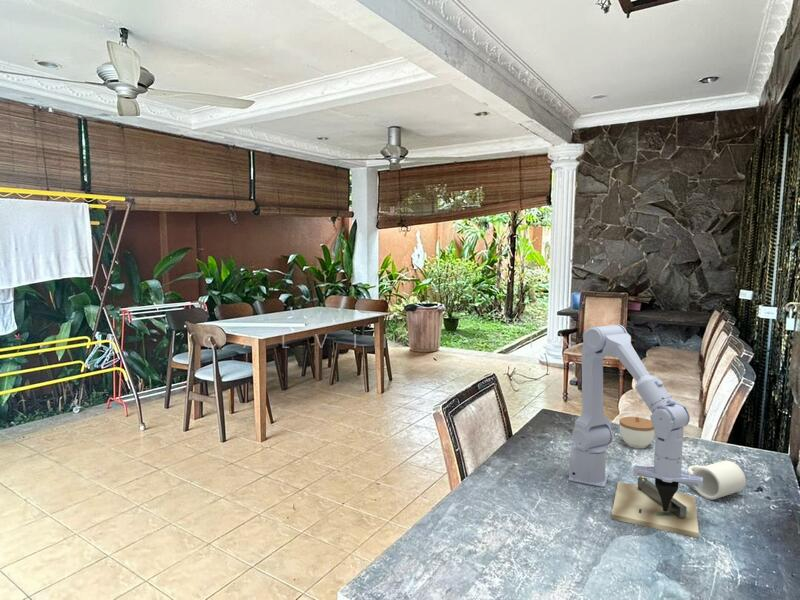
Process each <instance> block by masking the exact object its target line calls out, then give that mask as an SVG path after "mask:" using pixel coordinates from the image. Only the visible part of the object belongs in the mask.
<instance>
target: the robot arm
mask: <svg viewBox="0 0 800 600" xmlns="http://www.w3.org/2000/svg"><path fill="white" fill-rule="evenodd" d="M582 340H583V341H582V348H581V395H582V396H581V399H582V400H581V402H582V403H581V404H582V407H581V409H582V413H581V414H580V415H579V416H578V417H577V418H576V420H574V428H573V431H572V433H571V434H572V441H573V443H574V444H572V445H570V451H569V467H568V481H570V482H575V483H580V484H586V485H591V486H596V487H600V488H601V487H602V488H605V487H606V485H607V480H608V476H609V475H608V474H607V473H606V460H607V449H608V450H609V445H611V444H612V443H613V439H614V434H613V431H612V427H611V420H610V419H609V418H608V417H607V416H605V415H604V413H605V412H604V358H605V357H606V356H608V355H609V356H613V357H616V358H617V359H618V360H619V361H620V363H621V364H622V365H623V366H624V367H625V369H626V370H627V371H628V372H629V374H630V375H631V376H632V378H633V379H634V381H636V386H635V390H636V392H637V393H638V395H639V396H640V397H641V399H642V400H643V402H644V403H645V404H646V406H647V408H648V409H649V411H650V413H651V414H650V415H649V416H650V418H649V419H650V420H651V422H652V424H653V426H654V433H655V434H654V438H655V439H654V459H653V466H644V465H643V466H642V465H633V467H632V468H633V471H632V476H633V477H640V476H643V477H645V478H650V479H654V485H655V486H656V488H657V490H658V492H659V495H660V497H661V501H662V505H663V511H665V512H667V511H668V506H669V504H670V501H671V499H672V497H673V496H674V494H675V493H678V490H679V484H682V485H687V486H693V487H694V486H697V487H698V488H703V478H702V477H699V476H695V475H691V474H688V473H687V472H684V471H682V463H683V462H682V460H683V459H682V458H683V448H684V447H683V445H684V444H683V443H684V428H685V427H687V426H688V424H689V423H690V420H691V419H690V417H691V416H690V413H689V410H688V409H687V407H686V406H685V405H684V404H683V403H681V402H678V401H677V400H676V399H674V398H673V396H671V394H670V393H669V392H668V390H667V389H666V387H665V386H664V382H663V381H662V380H661V379H659V377H658V376H654V375H651V374H650V373H649V371H648V370H647V368H646V367H645V365H644V363H643V362H642V360H641V358H640V357H639V355H638V353H637V351H636V350H635V349H634V347H633V345H632V336H631V334H630V333H628V331H627V329H626V328H625V327H624V326H623V325H621V324H618V323H615V324H612V325H602V326H590V327H589V328H587V330H585V331H584V332H583V333H582Z"/></svg>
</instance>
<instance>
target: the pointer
mask: <svg viewBox="0 0 800 600" xmlns="http://www.w3.org/2000/svg"><path fill="white" fill-rule="evenodd" d="M637 485H638V489H639V490H642V491H643V492H645V493H646V494H648V495H649V496H650V497H652V498H653V499H654V500H656V501H657V502H658V503H660V504H661V505H662V501H661V497H660V495H659V492H658V490H657V488H656V485H655V483H652V481H650V480H648V477H643V476H637ZM668 510H669V511H671V512H672V513H673V514H675V515H676V516H678V517H679V518H686V510H687V507H686V506H684V505H683V504H682V503H680V502H679V501H677V500H676V499H674V498H673V497H672V499H671V501H670V504H669V506H668Z"/></svg>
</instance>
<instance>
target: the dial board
mask: <svg viewBox="0 0 800 600" xmlns="http://www.w3.org/2000/svg"><path fill="white" fill-rule="evenodd" d="M616 485H617V486H616V490H615V496H614V500H613V505H612V511H611V520H613V521H619V522H624V523H629V524H633V525H637V526H641V527H646V528H651V529H656V530H660V531H665V532H668V533H674V534H679V535H682V536H687V537H692V538H695V539H696V538H697V539H699V538H700V537H699V535H700V534H699V533H700V531H699V523H698V515H697V506H696V500H695V499H696V497H695V495H691V494H686V493H680V492H676V493H675V494H674V496H673V498H674V499H676V500H677V501H679V502H680V503H682V504H683V505H684V506H686V507H687V510H686V518H679V517H678V516H676V515H675V514H673V513H672V512H671V511H669V510H668V511H667V512H665V511H663V505H661V504H660V503H658V502H657V501H656V500H654V499H653V498H652V497H650V496H649V495H648V494H646V493H645V492H643V491H642V490H639V489H638V484H631V483H627V482H622V481H617V484H616Z"/></svg>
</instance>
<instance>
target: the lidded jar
mask: <svg viewBox="0 0 800 600" xmlns="http://www.w3.org/2000/svg"><path fill="white" fill-rule="evenodd" d="M619 432H620V437H621V439H622V440H623V441H624V443H625V444H626V446H629V447H630V448H635V449H646V448H647V447H648V446H649V445H650V444H651V443H652V442H653V440H654V438H655V433H654V426H653V424H652V422H651V419H647V418H644V417H640V416H623V417H621V418H620V419H619Z"/></svg>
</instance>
